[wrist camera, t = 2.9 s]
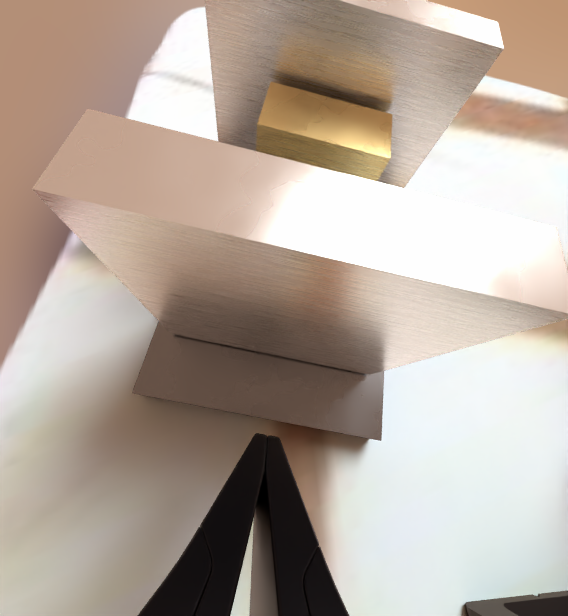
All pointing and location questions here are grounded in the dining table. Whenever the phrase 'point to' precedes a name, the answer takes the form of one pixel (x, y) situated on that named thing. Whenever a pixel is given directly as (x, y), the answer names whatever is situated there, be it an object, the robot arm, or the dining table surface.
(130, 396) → the dining table surface
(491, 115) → the dining table surface
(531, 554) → the dining table surface
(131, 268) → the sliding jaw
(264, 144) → the brass block
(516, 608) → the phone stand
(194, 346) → the vise base
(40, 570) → the dining table surface
